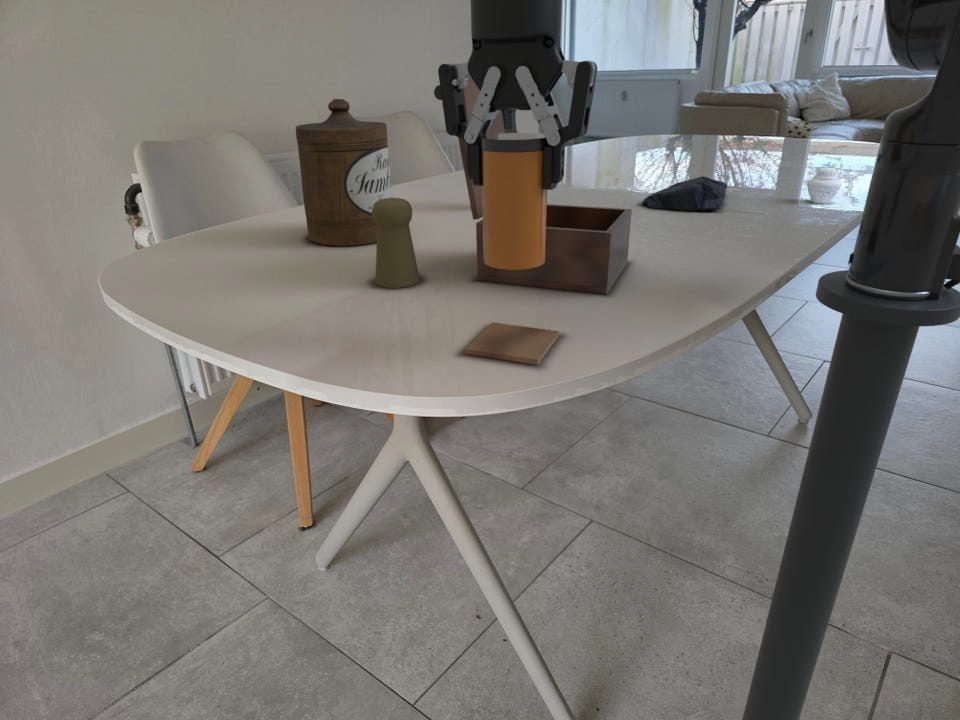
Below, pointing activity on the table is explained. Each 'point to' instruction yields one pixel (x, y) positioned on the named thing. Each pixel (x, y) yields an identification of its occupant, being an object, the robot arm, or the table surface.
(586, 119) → the robot arm
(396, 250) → the pepper shaker
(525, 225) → the honey jar
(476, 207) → the lid
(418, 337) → the table surface
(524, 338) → the coaster
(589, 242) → the chest
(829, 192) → the white vase
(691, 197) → the dark slate chunk
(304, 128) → the wooden container
